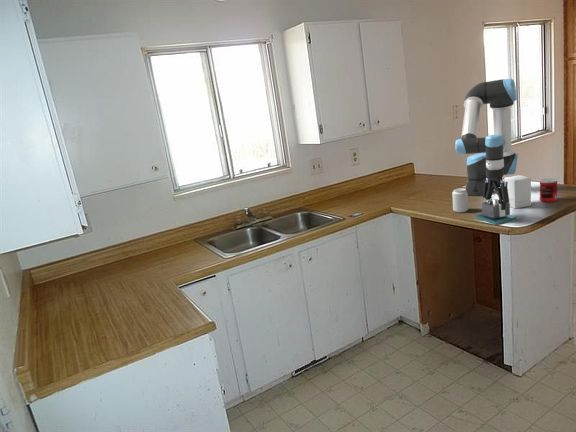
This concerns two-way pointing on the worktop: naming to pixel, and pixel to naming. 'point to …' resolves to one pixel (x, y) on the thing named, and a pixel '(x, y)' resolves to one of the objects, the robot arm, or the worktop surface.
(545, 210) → the worktop surface
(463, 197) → the can
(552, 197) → the canned food
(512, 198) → the supplement box
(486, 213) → the grey open box
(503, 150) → the robot arm
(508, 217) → the plate
